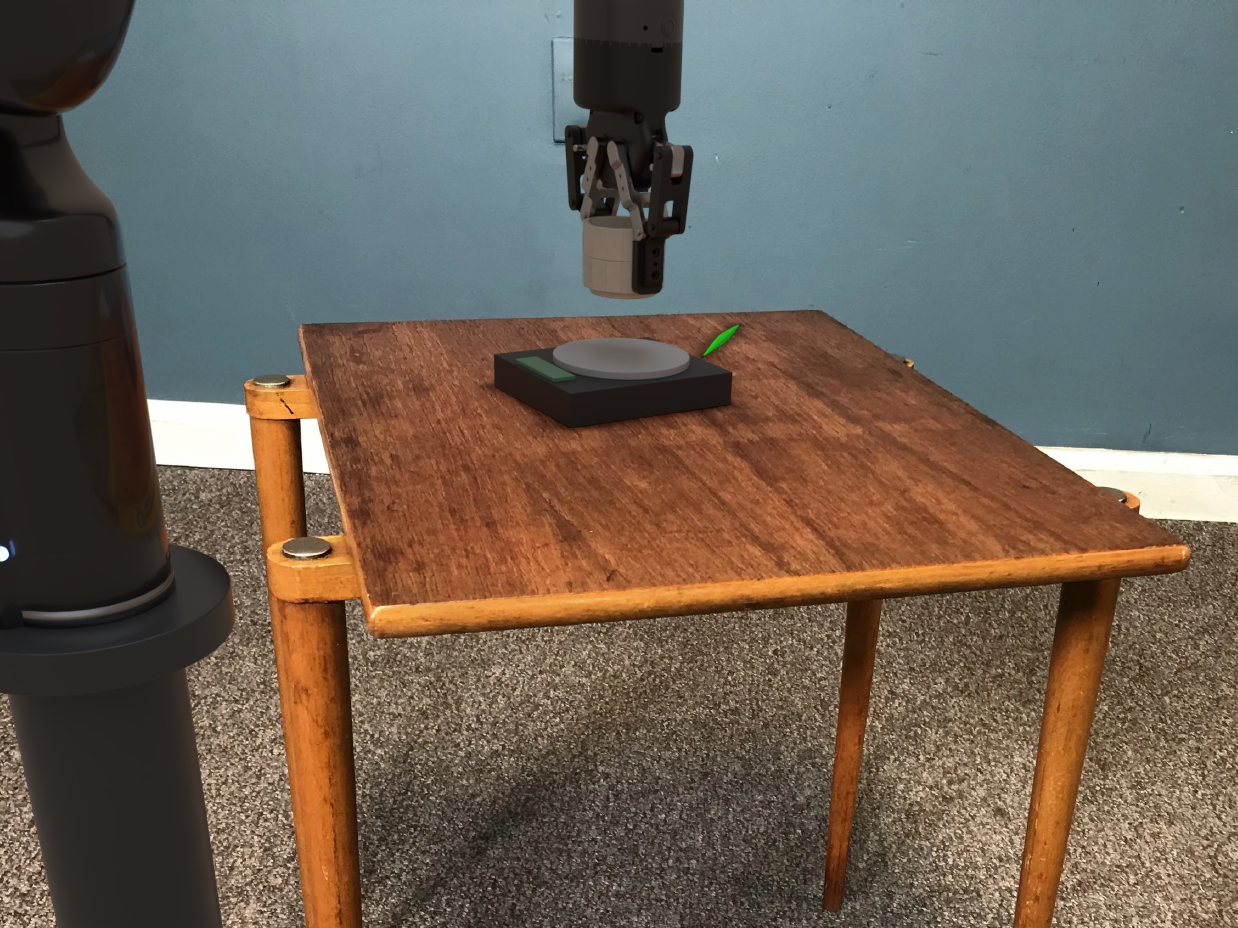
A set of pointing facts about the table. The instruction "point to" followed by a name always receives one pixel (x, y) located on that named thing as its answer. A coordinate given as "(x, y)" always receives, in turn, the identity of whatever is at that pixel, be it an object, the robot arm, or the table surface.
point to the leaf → (721, 340)
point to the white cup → (609, 257)
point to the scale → (611, 380)
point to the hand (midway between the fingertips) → (623, 283)
